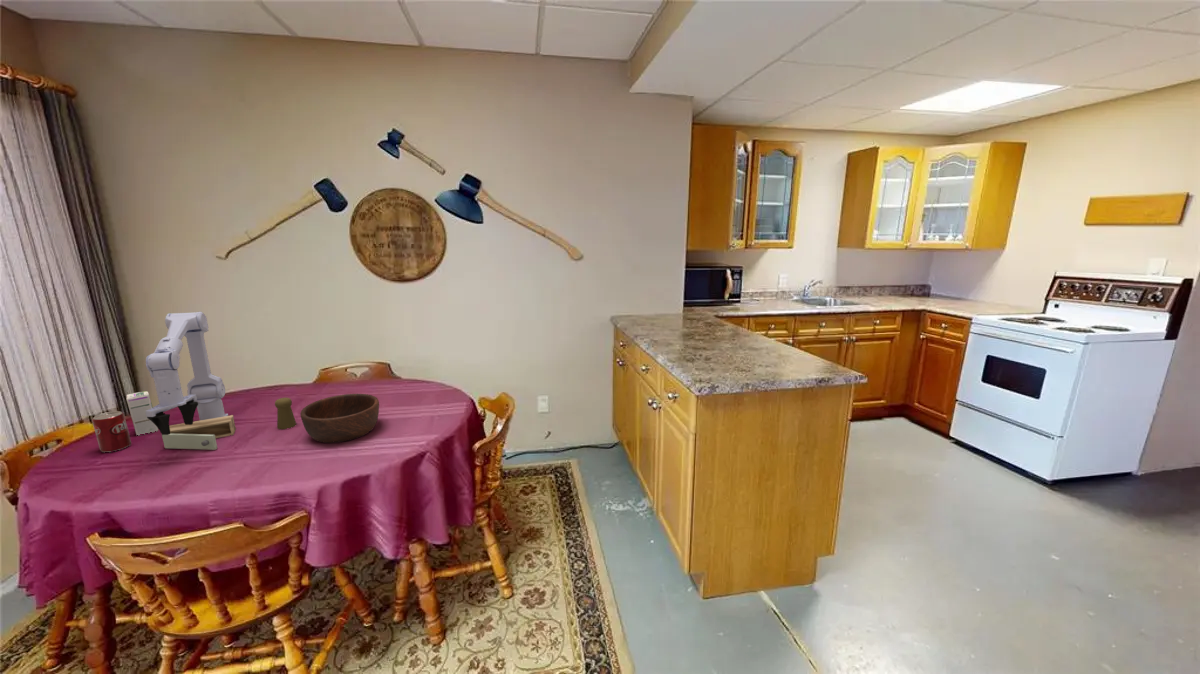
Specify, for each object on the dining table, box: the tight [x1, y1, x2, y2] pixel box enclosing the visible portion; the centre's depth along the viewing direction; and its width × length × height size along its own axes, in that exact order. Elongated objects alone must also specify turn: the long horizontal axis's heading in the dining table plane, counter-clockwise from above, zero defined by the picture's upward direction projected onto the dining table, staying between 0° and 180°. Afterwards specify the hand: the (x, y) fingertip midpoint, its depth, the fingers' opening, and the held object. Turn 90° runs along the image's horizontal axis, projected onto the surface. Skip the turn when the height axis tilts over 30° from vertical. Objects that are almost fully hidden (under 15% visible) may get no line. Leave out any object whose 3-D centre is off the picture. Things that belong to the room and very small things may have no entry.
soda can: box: [91, 411, 132, 453], centre depth 150 cm, size 7×7×12 cm
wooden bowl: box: [300, 393, 380, 444], centre depth 165 cm, size 25×25×10 cm
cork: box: [274, 397, 297, 430], centre depth 168 cm, size 6×6×11 cm
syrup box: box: [126, 390, 159, 436], centre depth 162 cm, size 6×6×14 cm
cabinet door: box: [161, 433, 218, 451], centre depth 150 cm, size 2×18×5 cm, turn 88°
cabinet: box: [169, 414, 237, 439], centre depth 159 cm, size 6×18×6 cm, turn 123°
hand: (177, 429), depth 145 cm, fingers open, 7 cm apart
